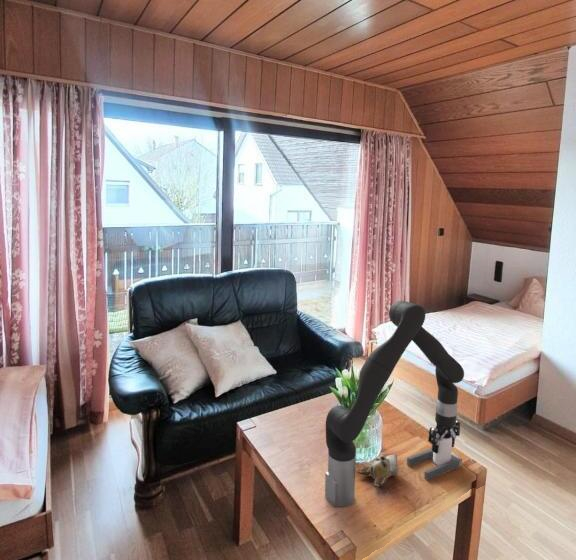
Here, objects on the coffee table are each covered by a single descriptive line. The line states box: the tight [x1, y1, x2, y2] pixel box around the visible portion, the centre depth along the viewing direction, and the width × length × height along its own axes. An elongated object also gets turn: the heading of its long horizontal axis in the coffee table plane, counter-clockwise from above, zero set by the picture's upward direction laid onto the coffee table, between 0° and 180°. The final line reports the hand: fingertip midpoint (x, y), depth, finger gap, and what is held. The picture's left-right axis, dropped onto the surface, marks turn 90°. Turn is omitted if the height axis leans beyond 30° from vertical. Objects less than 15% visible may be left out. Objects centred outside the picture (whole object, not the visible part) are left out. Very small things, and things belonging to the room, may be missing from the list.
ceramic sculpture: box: [357, 453, 399, 488], centre depth 159 cm, size 11×9×15 cm
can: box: [432, 434, 453, 466], centre depth 167 cm, size 6×6×12 cm
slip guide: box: [406, 447, 463, 481], centre depth 166 cm, size 18×10×3 cm, turn 118°
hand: (443, 449), depth 167 cm, fingers open, 8 cm apart
